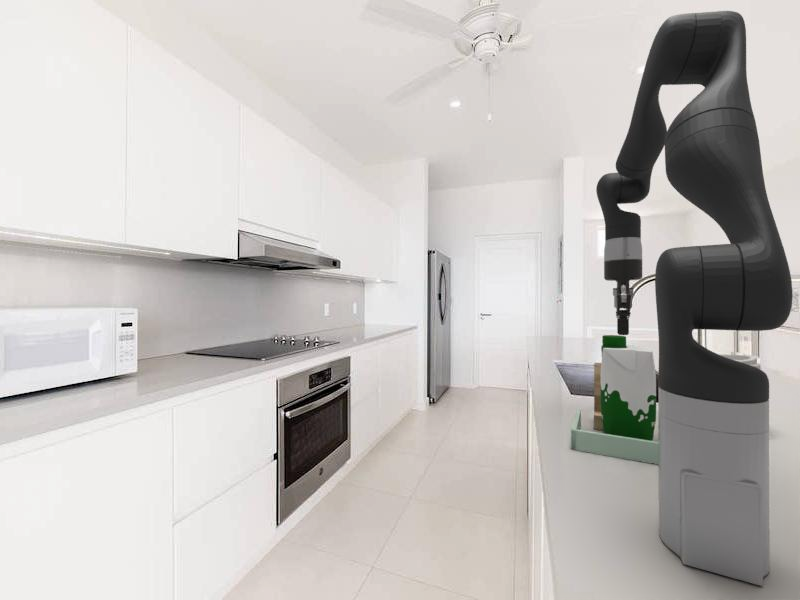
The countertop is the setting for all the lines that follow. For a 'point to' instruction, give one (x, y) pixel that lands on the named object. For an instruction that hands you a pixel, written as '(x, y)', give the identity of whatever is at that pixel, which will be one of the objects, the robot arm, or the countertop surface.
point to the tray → (612, 444)
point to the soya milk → (627, 389)
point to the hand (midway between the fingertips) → (622, 334)
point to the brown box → (597, 397)
